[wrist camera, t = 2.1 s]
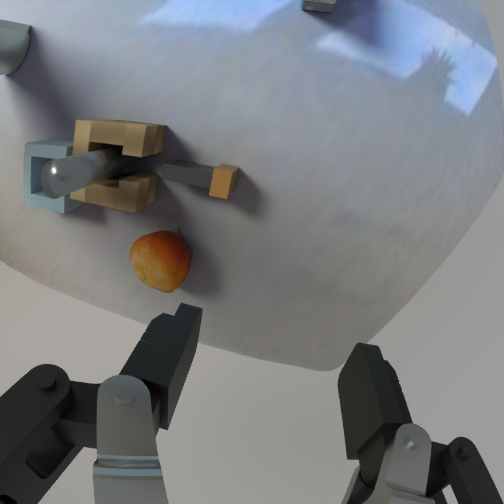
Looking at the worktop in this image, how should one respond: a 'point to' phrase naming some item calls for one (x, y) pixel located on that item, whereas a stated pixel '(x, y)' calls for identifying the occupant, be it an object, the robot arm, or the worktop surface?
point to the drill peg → (84, 170)
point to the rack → (33, 164)
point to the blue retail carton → (318, 5)
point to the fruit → (161, 260)
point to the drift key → (202, 176)
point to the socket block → (134, 144)
